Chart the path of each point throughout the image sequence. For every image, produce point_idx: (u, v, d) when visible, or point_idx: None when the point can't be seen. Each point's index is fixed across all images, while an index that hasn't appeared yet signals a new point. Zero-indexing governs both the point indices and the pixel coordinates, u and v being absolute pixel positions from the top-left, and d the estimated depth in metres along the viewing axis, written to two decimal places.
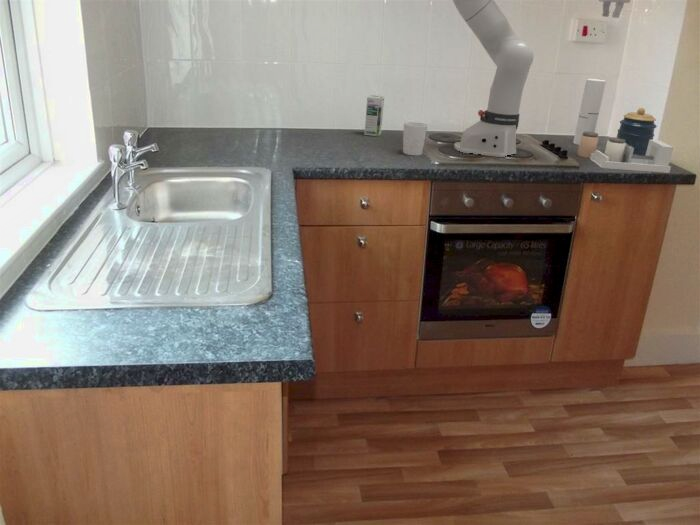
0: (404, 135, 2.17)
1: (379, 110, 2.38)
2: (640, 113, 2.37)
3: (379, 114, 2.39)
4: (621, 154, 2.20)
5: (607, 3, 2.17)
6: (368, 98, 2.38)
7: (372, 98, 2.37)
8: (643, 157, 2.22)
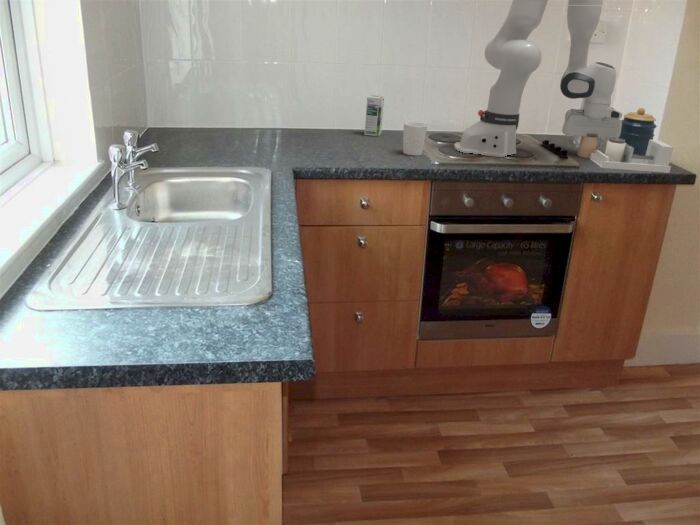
0: (404, 135, 2.17)
1: (379, 110, 2.38)
2: (640, 113, 2.37)
3: (379, 114, 2.39)
4: (621, 154, 2.20)
5: None
6: (368, 98, 2.38)
7: (372, 98, 2.37)
8: (643, 157, 2.22)
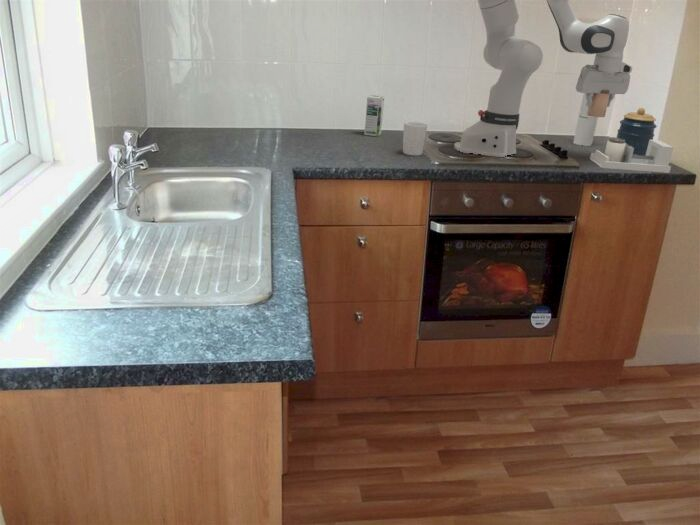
0: (404, 135, 2.17)
1: (379, 110, 2.38)
2: (640, 113, 2.37)
3: (379, 114, 2.39)
4: (621, 154, 2.20)
5: None
6: (368, 98, 2.38)
7: (372, 98, 2.37)
8: (643, 157, 2.22)
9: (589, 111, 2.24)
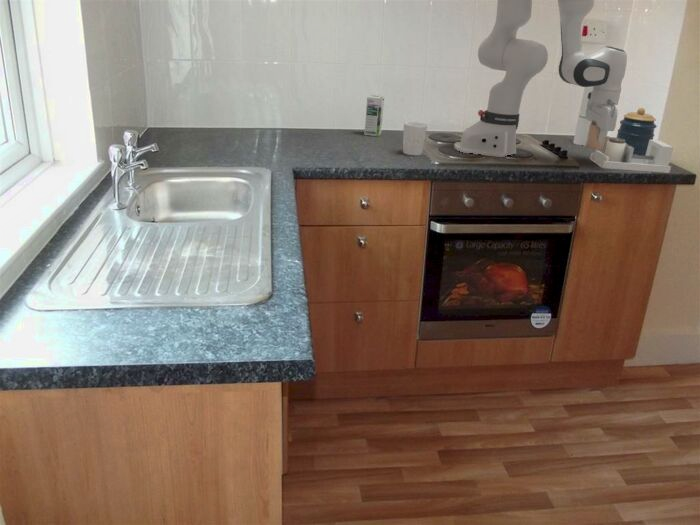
0: (404, 135, 2.17)
1: (379, 110, 2.38)
2: (640, 113, 2.37)
3: (379, 114, 2.39)
4: (621, 154, 2.20)
5: None
6: (368, 98, 2.38)
7: (372, 98, 2.37)
8: (643, 157, 2.22)
9: (597, 145, 2.18)
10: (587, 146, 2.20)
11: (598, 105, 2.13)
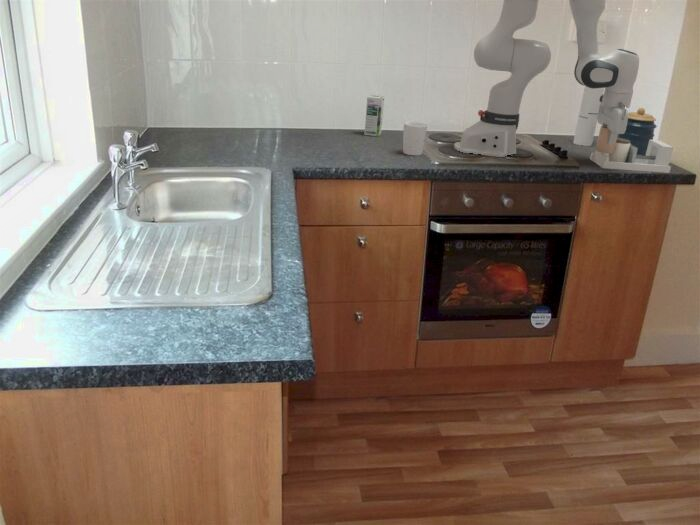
0: (404, 135, 2.17)
1: (379, 110, 2.38)
2: (640, 113, 2.37)
3: (379, 114, 2.39)
4: (626, 154, 2.19)
5: None
6: (368, 98, 2.38)
7: (372, 98, 2.37)
8: (647, 157, 2.22)
9: (607, 149, 2.16)
10: (597, 149, 2.19)
11: (609, 108, 2.12)
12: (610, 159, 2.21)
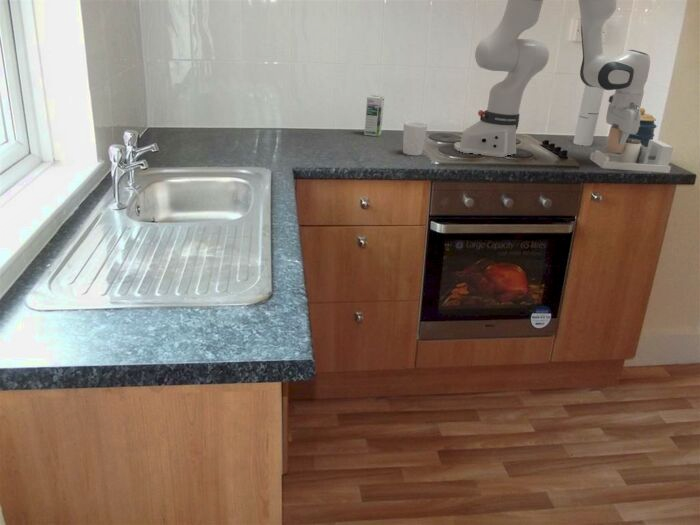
0: (404, 135, 2.17)
1: (379, 110, 2.38)
2: None
3: (379, 114, 2.39)
4: (635, 155, 2.20)
5: None
6: (368, 98, 2.38)
7: (372, 98, 2.37)
8: None
9: (618, 149, 2.18)
10: (608, 149, 2.20)
11: (620, 108, 2.14)
12: (620, 159, 2.23)
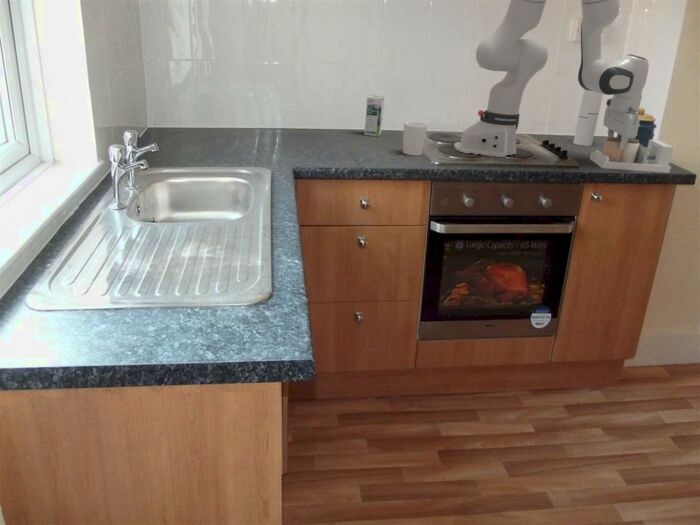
0: (404, 135, 2.17)
1: (379, 110, 2.38)
2: (640, 113, 2.37)
3: (379, 114, 2.39)
4: (633, 154, 2.21)
5: None
6: (368, 98, 2.38)
7: (372, 98, 2.37)
8: None
9: (615, 161, 2.20)
10: None
11: (619, 112, 2.16)
12: None
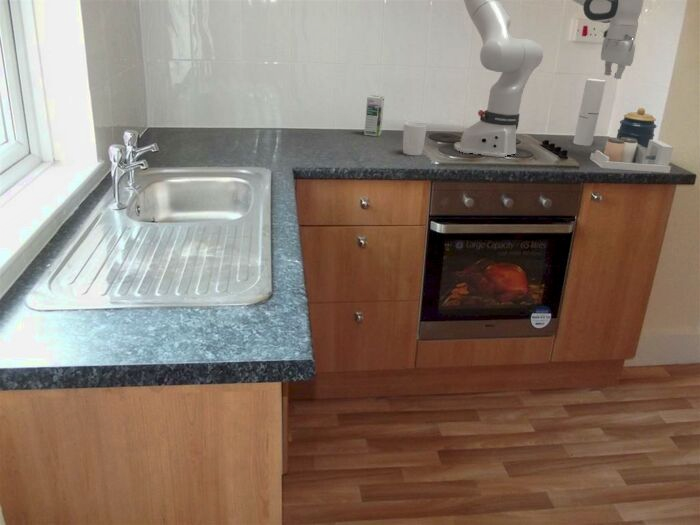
0: (404, 135, 2.17)
1: (379, 110, 2.38)
2: (640, 113, 2.37)
3: (379, 114, 2.39)
4: (631, 154, 2.21)
5: None
6: (368, 98, 2.38)
7: (372, 98, 2.37)
8: None
9: None
10: None
11: (615, 41, 2.13)
12: None
